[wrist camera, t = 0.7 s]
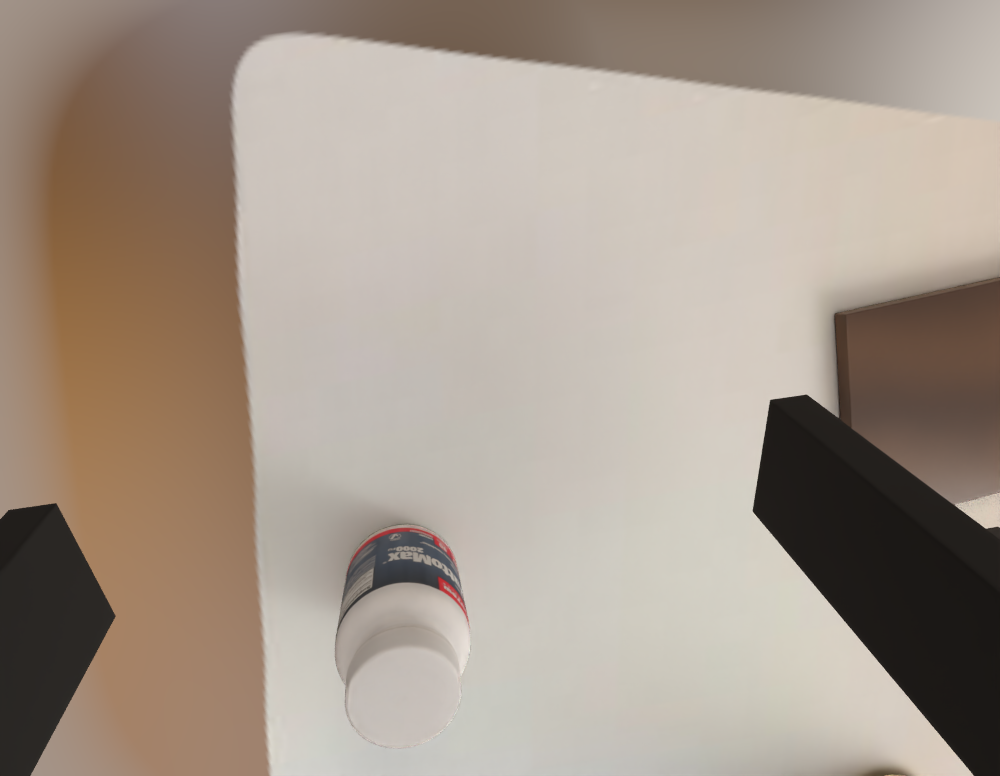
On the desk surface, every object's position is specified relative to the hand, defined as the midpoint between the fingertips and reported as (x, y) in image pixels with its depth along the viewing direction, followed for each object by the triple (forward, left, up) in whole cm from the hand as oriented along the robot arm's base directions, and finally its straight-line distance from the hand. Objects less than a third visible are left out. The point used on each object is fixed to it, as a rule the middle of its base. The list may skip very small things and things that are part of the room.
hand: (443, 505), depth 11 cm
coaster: (+8, +27, -16) cm, 33 cm away
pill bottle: (+10, -3, -16) cm, 19 cm away
